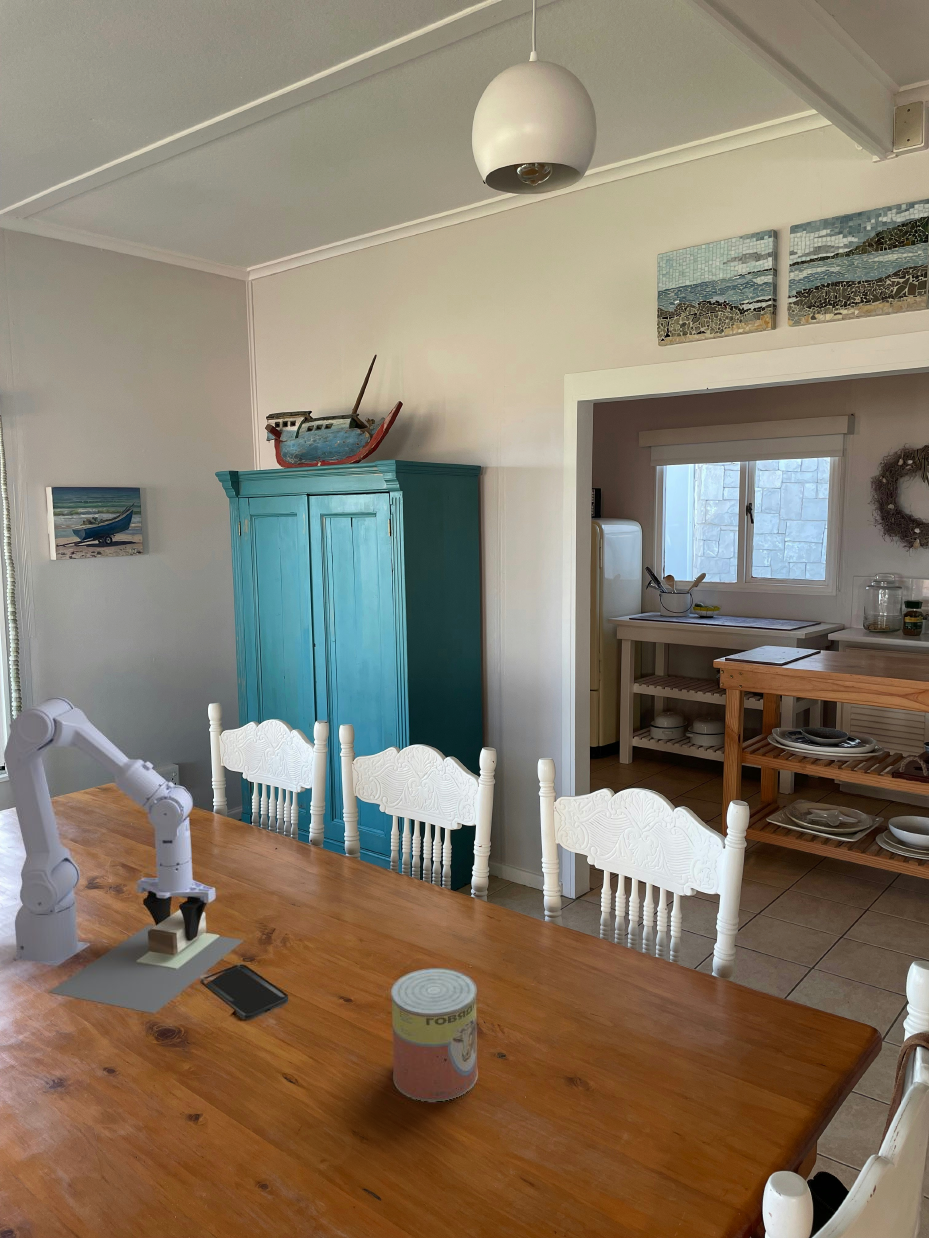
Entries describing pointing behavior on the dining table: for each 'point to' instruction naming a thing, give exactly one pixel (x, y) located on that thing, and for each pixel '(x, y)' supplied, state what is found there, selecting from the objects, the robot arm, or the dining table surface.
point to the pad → (181, 956)
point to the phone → (246, 991)
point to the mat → (140, 975)
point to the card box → (172, 934)
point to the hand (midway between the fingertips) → (178, 935)
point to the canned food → (434, 1034)
